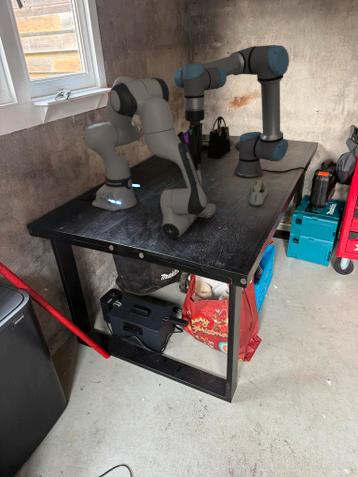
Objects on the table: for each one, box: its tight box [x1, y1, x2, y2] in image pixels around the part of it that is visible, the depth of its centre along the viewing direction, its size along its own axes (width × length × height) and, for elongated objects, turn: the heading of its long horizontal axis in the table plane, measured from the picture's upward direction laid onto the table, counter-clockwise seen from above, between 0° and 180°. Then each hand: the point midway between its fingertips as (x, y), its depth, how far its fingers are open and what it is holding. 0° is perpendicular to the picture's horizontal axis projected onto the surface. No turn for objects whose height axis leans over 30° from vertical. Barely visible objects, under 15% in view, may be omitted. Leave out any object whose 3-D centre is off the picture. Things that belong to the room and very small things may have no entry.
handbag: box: [206, 115, 231, 159], centre depth 220 cm, size 21×9×25 cm, turn 148°
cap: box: [198, 161, 202, 170], centre depth 137 cm, size 4×4×2 cm
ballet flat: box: [249, 179, 269, 207], centre depth 158 cm, size 8×24×8 cm, turn 163°
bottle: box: [197, 169, 203, 187], centre depth 143 cm, size 4×4×23 cm
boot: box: [176, 131, 186, 169], centre depth 209 cm, size 9×24×20 cm, turn 168°
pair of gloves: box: [202, 134, 234, 149], centre depth 251 cm, size 30×26×5 cm
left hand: (197, 200), depth 146 cm, fingers closed on bottle, 4 cm apart
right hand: (196, 168), depth 138 cm, fingers open, 5 cm apart
